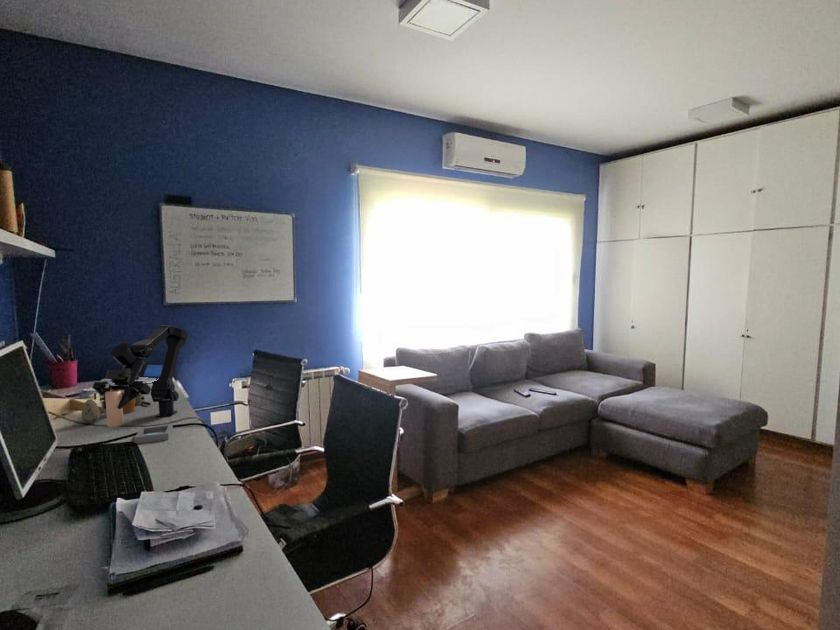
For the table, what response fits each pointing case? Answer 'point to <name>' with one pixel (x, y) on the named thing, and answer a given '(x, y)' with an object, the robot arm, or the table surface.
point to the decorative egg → (90, 411)
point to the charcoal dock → (154, 433)
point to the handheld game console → (152, 370)
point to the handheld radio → (141, 400)
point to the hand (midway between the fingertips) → (111, 408)
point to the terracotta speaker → (114, 408)
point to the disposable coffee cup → (128, 405)
